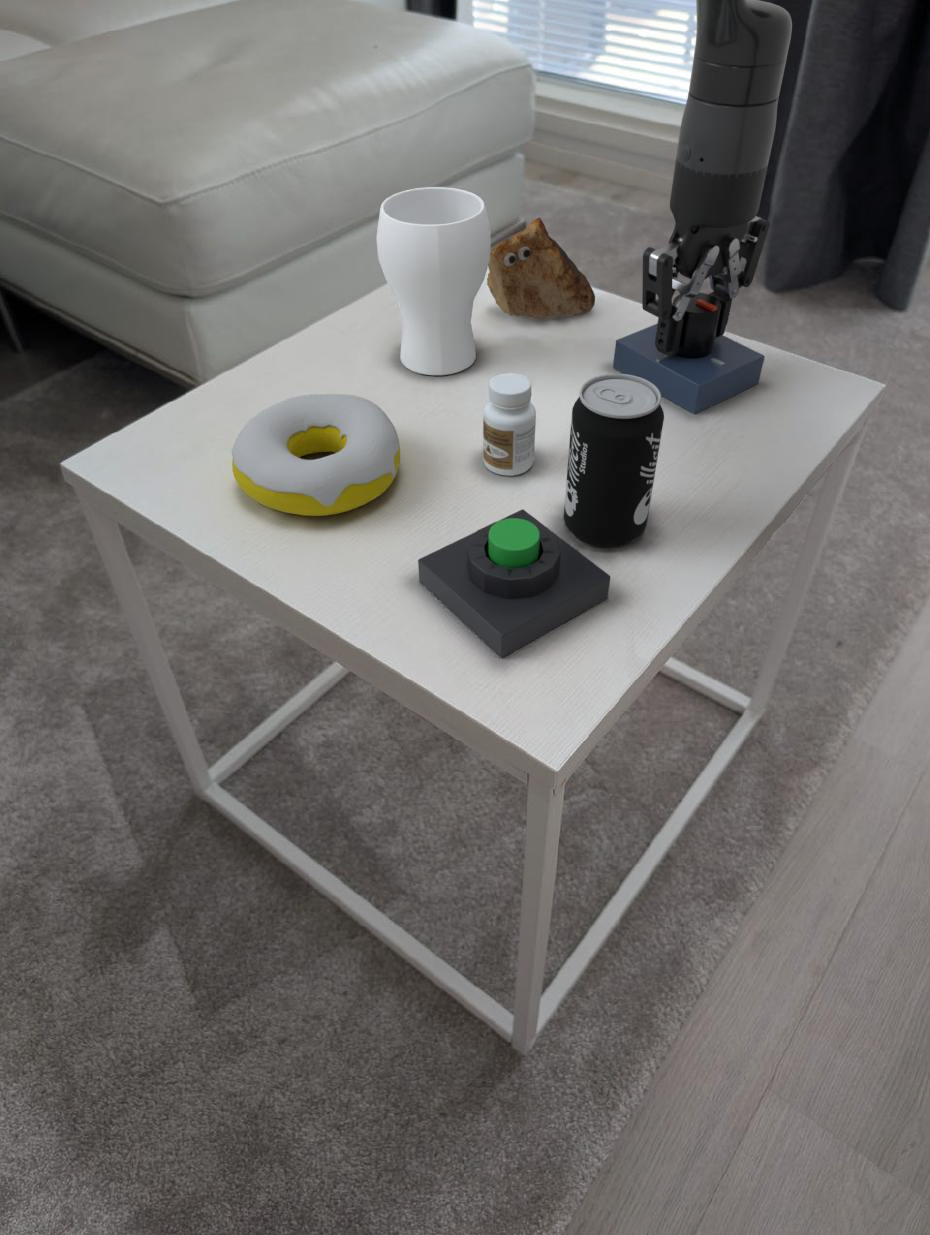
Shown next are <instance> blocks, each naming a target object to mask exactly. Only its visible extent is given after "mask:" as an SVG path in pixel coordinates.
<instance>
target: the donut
mask: <svg viewBox="0 0 930 1235" xmlns="http://www.w3.org/2000/svg"><path fill="white" fill-rule="evenodd" d="M317 453H332V454H329V455H326V456H323V457H320V458H316V459H304V458H301V457H303V456H307V455H311V454H317ZM231 455H232V461H231V466H232V473H233V477H234V479H235V481H236V483H237V485H238V486H239V488H240V489H241V490H242V491H243V492H244V493H245V494H246V495H247V496H248V497H250V498H251V499H253V500H255V501H256V502H257V503H259V504H261V505H263V506H264V507H266V508H269V509H272V510H276V511H280V512H283V513H286V514H293V515H299V516H309V517H310V516H311V517H320V516H321V517H323V516H324V517H325V516H331V515H333V516H334V515H337V514H342V513H345V512H349V511H352V510H354V509H357V508H359V507H361V506H364V505H366V504H368V503H370V502H371V501H373V500H376V499H377V498H378V497H379V496H381V495H382V494H383V493H384V492H385V491H386V490H388V488H389V487H390V486H391V485H392V483H393V482H394V480H395V477H396V476H397V473H398V471H399V466H400V462H401V446H400V439H399V436H398V433H397V430H396V427H395V425H394V424H393V422H392V421H391V419H390V418H389V416H388V415H387V413H386V412H385V411H384V410H383V409H382V408H381V407H380V406H379V405H378V404H376V403H374V402H373V401H371V400H370V399H367V398H364V397H362V396H357V395H351V394H340V393H315V394H314V393H313V394H305V395H299V396H294V397H290V398H287V399H285V400H282V401H280V402H277V403H274V404H273V405H271V406H269V407H267V408H265V409H263V410H261V411H259V412H258V413H257V414H255V415H254V416H253V417H252V418H250V419H249V420H248V421H247V422H246V423H245V425H243V427H242V429H241V430H240V431H239V433H238V435H237V437H236V438H235V441H234V443H233V446H232V448H231Z"/></svg>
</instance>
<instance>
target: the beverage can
mask: <svg viewBox="0 0 930 1235" xmlns="http://www.w3.org/2000/svg"><path fill="white" fill-rule="evenodd" d="M661 401H662V395H661V394H660V391H659V390H658V388H657V387H656V386H655V385H654V384H652V383H651V382H649V381H647V380H645V379H643V378H640V377H637V376H633V375H627V374H623V373H607V374H606V373H605V374H600V375H597V376H595V377H592V378H590V379H588V380H586V381H585V382H584V383H582V385H581V387H580V390H579V396H578V398H577V399H576V400H575V402H574V404H573V406H572V409H571V410H572V411H571V420H570V433H569V443H568V444H569V445H568V455H567V456H568V457H567V469H566V481H565V492H564V493H565V494H564V504H563V505H564V506H563V521H564V525H565V527H566V528H567V530H568V531H569V532H570V533H571V534H572V535H573V536H574V537H575V538H576V539H577V540H578V541H580V542H582V543H584V544H586V545H588V546H591V547H595V548H600V549H613V548H614V549H615V548H620V547H623V546H626V545H628V544H630V543H632V542H633V541H635V540H636V539H638V538H639V537H640V536H641V535H642V534H643V533H644V531H645V530H646V528H647V525H648V518H649V513H650V508H651V502H652V501H651V500H652V494H653V488H654V482H655V477H656V470H657V463H658V458H659V450H660V446H661V440H662V434H663V428H664V422H665V412H664V409H663V407H662V405H661Z"/></svg>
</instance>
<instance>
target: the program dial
mask: <svg viewBox="0 0 930 1235" xmlns="http://www.w3.org/2000/svg"><path fill="white" fill-rule="evenodd" d="M679 295H680V294H677V295H676V296H675V297H674V298H673V299H672V303H673V304H676V302H677V300H678V297H679ZM720 310H721V302H720V300H719V299H717V298H716V297H714V296H712V295H709V293H704V292H699V293H698V295H697V296H695V297H692V298H691V300H690V302H689V304H688V306H687V309H686V311H685V313H684V315H683V317H682V319H684V320H683V326H682V332H681V338H680V344H679V350H678V354H676V355H677V356H680V357H684V358H701V357H705V356H707V355H709V354H710V353H711V352H712V351H713V346H714V341H715V336H716V331H717V326H718V320H719V315H720Z"/></svg>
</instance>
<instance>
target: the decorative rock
mask: <svg viewBox="0 0 930 1235" xmlns="http://www.w3.org/2000/svg"><path fill="white" fill-rule="evenodd" d="M487 269H488V273H487V278H486V285H487V287H488V289H489V291H490V294H491V296H492V297H493V299H494V300H495V304H496V305H497V306H498V307H499V308H500V309H501V311H502V312H503V313H505V314H507V315H509V316H515V317H519V318H532V319H544V318H548V317H549V318H550V317H554V316H555V317H556V316H558V317H573V316H574V317H575V316H580V315H586V314H588V313H589V312H590V311H591V310H592V309H593V308H594V306H595V304H596V295H595V292H594V290H593V288H592V286H591V284H590V282H589V280H588V279H587V277H586V276H585V274H583V273H582V271H580V270H579V269H578V267H577V265H576V263H575V262H574V261H573V260H572V259H571V258H570V257H569V256H568V254H567V253H566V251H565V250H564V249H563V248H562V246H561V245H560V244H559V243H558V242H557V241H556V240H555V239H554V238H552V237H551V236H550V235H549V232H548V230H547V229H546V226H545V224H544V221H543V220H542V218H541V217H540V216H538V217H537V218H535V219H534V220H532V221H531V222H530V224H528V225H527V227H525V229H523V230H521V231H518V232H516V233H514V234H513V235H512V236H510V237H509V238H506V239H503V240H502V241H500V242H499V243H498V244H497V245H496V246H494V248H492V250H490V261H489V264H488V268H487Z"/></svg>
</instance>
